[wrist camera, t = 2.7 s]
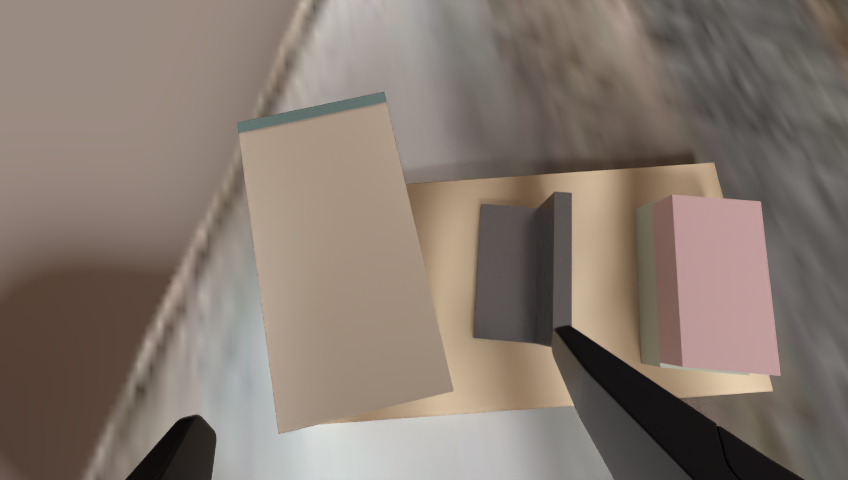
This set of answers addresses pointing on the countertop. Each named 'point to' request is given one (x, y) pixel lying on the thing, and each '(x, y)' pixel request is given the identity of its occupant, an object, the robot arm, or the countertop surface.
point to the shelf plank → (591, 287)
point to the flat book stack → (705, 286)
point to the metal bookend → (524, 271)
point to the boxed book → (339, 264)
